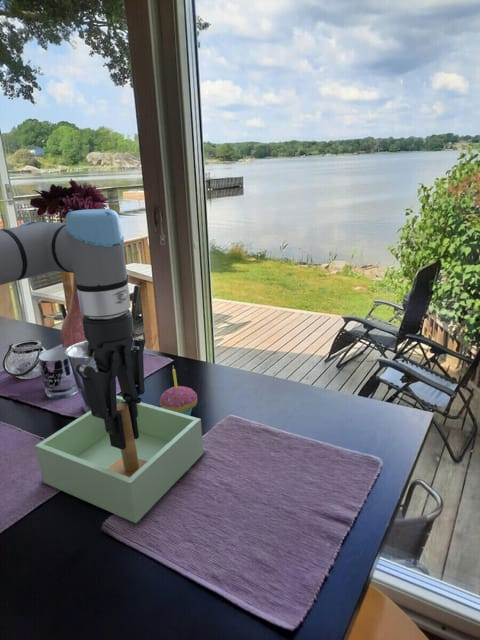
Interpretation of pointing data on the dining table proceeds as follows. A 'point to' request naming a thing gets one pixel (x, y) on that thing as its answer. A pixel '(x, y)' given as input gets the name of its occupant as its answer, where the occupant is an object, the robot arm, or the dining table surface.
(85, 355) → the tall metal cup
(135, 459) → the wooden stamp
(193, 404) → the cupcake
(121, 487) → the tub
